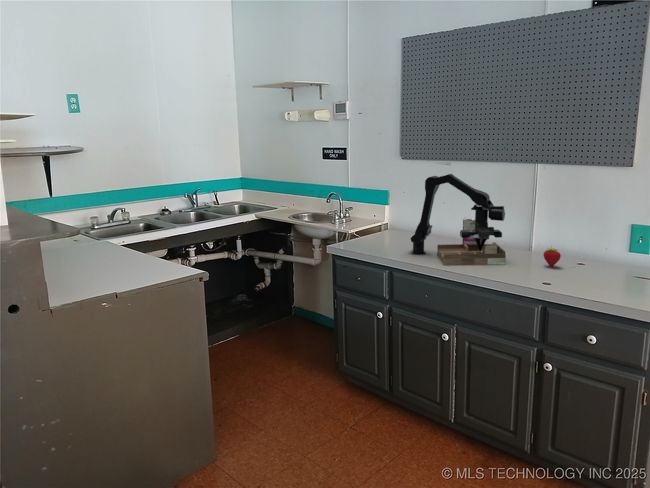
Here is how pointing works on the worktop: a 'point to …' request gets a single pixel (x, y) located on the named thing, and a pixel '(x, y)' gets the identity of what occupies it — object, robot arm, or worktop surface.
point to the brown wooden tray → (468, 255)
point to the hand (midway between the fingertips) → (479, 251)
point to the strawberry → (552, 256)
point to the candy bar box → (469, 225)
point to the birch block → (489, 248)
